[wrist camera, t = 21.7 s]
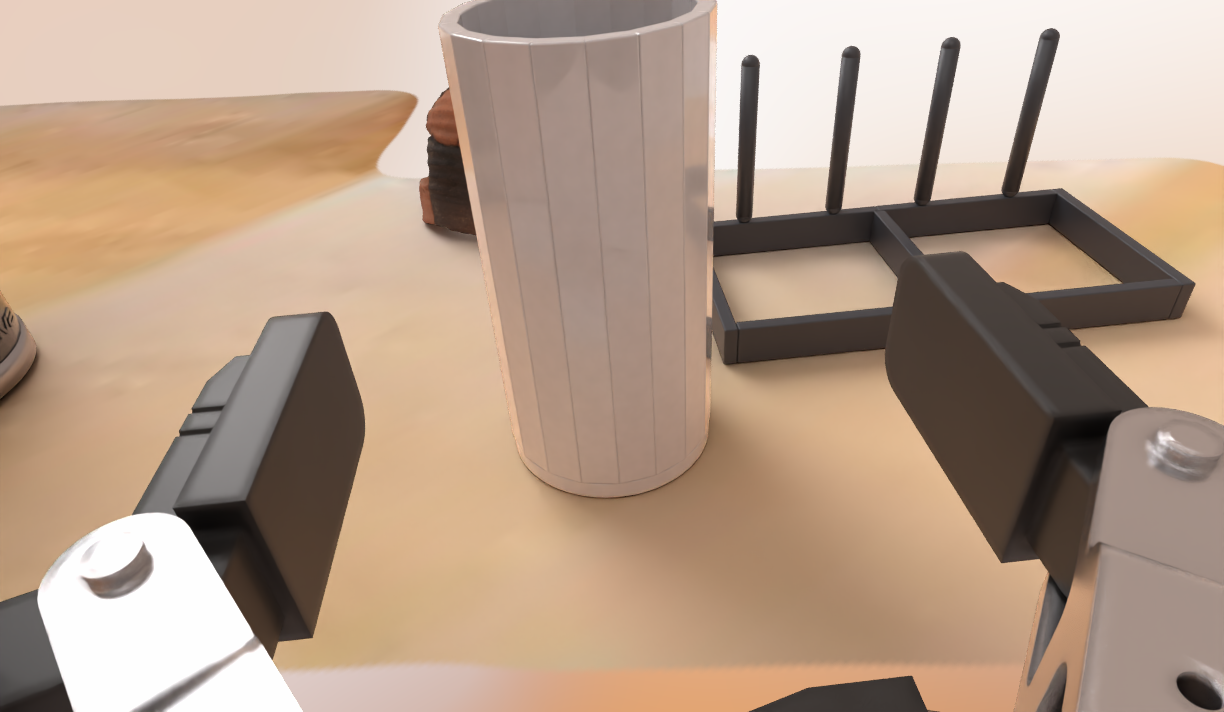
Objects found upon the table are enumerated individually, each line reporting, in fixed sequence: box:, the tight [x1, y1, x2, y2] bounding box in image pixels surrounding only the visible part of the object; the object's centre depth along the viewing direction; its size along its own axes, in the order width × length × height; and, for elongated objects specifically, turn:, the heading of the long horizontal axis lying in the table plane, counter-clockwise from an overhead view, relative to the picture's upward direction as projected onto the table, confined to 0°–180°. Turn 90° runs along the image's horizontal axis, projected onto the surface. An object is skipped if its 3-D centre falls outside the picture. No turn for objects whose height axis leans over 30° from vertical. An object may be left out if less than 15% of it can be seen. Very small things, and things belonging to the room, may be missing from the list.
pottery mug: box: [419, 88, 476, 235], centre depth 39 cm, size 12×10×8 cm
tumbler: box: [438, 0, 717, 498], centre depth 22 cm, size 6×6×13 cm
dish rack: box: [712, 28, 1195, 364], centre depth 29 cm, size 17×9×8 cm, turn 95°
